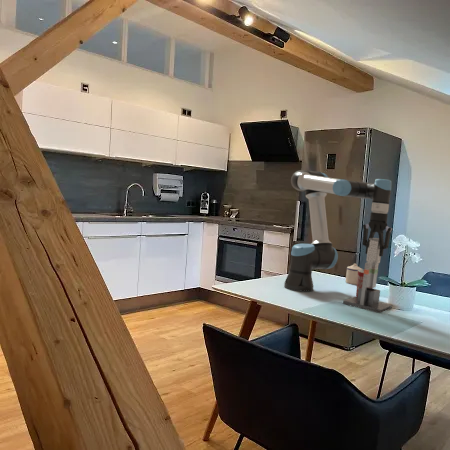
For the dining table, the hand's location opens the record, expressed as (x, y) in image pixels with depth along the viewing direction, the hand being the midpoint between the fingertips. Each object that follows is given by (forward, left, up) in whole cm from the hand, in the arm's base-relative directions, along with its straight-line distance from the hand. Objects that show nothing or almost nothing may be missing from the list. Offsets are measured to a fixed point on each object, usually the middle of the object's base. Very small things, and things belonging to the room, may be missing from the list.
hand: (373, 261), depth 215 cm
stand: (0, 0, -21) cm, 21 cm away
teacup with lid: (-30, +50, -21) cm, 62 cm away
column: (0, 0, -12) cm, 12 cm away
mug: (-10, +18, -21) cm, 30 cm away
